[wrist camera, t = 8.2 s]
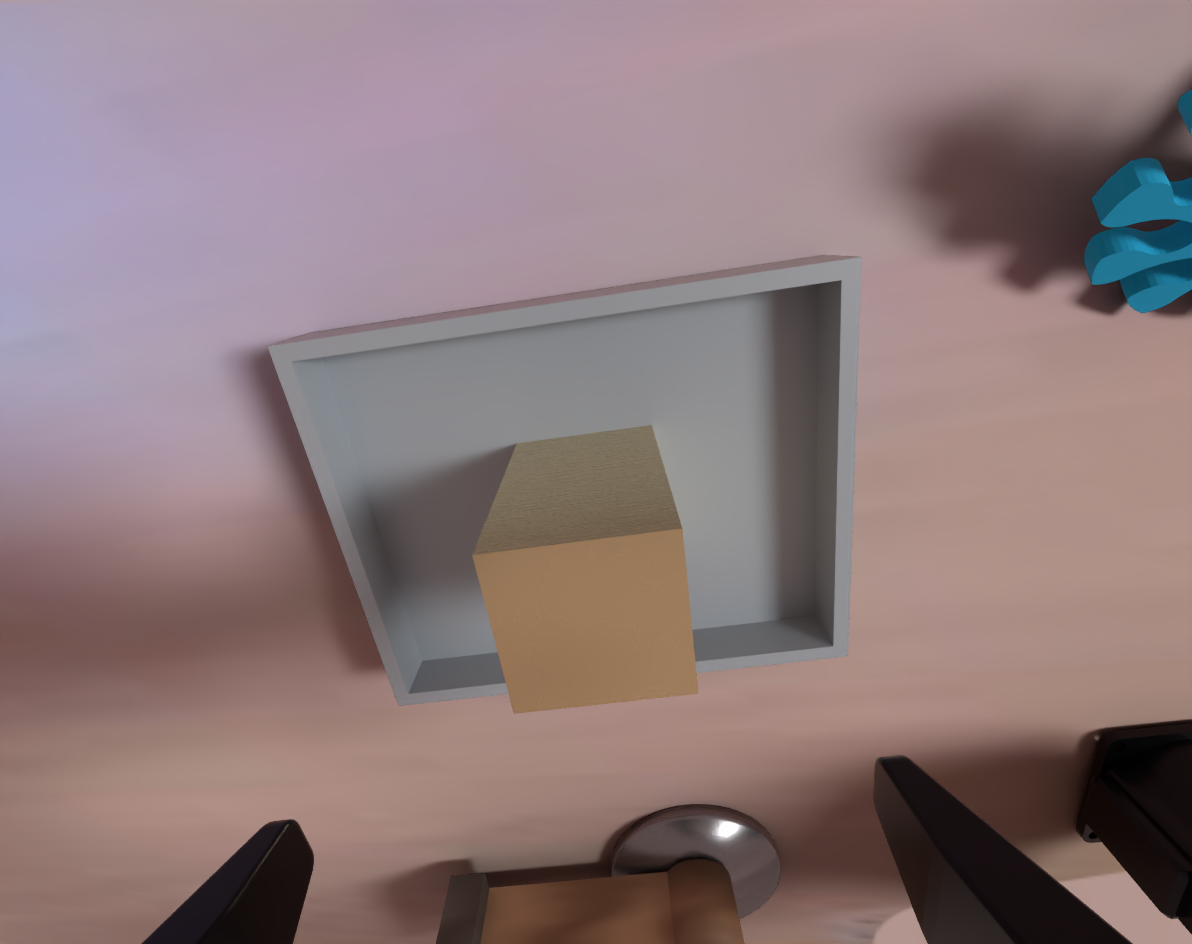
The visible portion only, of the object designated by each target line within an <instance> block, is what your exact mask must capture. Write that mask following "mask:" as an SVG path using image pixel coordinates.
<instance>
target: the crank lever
mask: <svg viewBox="0 0 1192 944" xmlns="http://www.w3.org/2000/svg"><path fill="white" fill-rule="evenodd" d="M436 944H744V939H743V934H742V929H741V925H740V920H739V915H738V910H737V906H736V901H735V896H734V891H733V887H732V882H731V877H730V874H729V872H728V870H727V869H726V868H725V867H724V866H722V865H721V864H719V863H717V862H714V861H710V860H704V859H693V860H688V861H684V862H681V863H678V864H676V865H675V866H673V867H672V868H670V869H669V870H668V871H667V872H659V873H648V874H637V875H626V876H615V877H604V878H593V879H582V880H571V881H560V882H549V883H538V884H527V885H516V886H505V887H494V888H490V887H489V885H488V882H487V879H486V876H485V873H480V874H469V875H458V876H451V880H450V884H449V888H448V893H447V897H446V901H445V906H444V910H443V915H442V919H441V923H440V928H439V932H438V936H437V941H436Z"/></svg>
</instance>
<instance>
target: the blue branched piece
mask: <svg viewBox="0 0 1192 944" xmlns="http://www.w3.org/2000/svg"><path fill="white" fill-rule="evenodd" d="M1178 110H1179V112H1180V114H1181V116H1182V118H1183V120H1184V122H1185V124H1186V126H1187V128H1188V130H1189V132H1190V134H1191V136H1192V89H1191V90H1189V91H1188V92H1186V93H1185V94H1184V95H1182V96H1181V97H1180V98H1179V101H1178ZM1092 202H1093V204H1094V207H1095V209H1096V212H1097V215H1098V217H1099V220H1100V223H1101V224H1102V225H1104V226H1107V227H1118V228H1112V229H1109V230H1106V231H1103V232H1100V233H1098V234H1096V235H1094V236H1093V237H1092V238H1091V240H1090V241H1089V242H1088V245H1087V247H1086V249H1085V254H1084V264H1085V266H1086V269H1087V272H1088V275H1089V278H1090V281H1091V284H1093V285H1099V284H1106V283H1110V282H1114V281H1117V280H1120V283H1121V286H1122V289H1123V291H1124V294H1125V297H1126V299H1127V302H1128V304H1129V305H1130V307H1132V308H1133V309H1134V310H1136V311H1138V312H1140V313H1145V312H1149V311H1152V310H1156V309H1158V308H1161V307H1163V306H1165V305H1167V304H1169V303H1171V302H1172V301H1174V300H1175V299H1177V298H1178V297H1180V296H1181V295H1183V294H1185V293H1187V292H1188V291H1190V290H1192V177H1191V178H1188V179H1185V180H1181V181H1168V178H1167V176H1166V174H1165V172H1164V170H1163V167H1162V165H1161V163H1160V162H1159V161H1158V160H1157V159H1153V158H1141V159H1136V160H1132V161H1130V162H1129V163H1127V164H1126V165H1124V166H1123V167H1122V168H1120V169H1119V170H1118V171H1117V172H1116V173H1115V174H1114V175H1112V176H1111V177H1110V178H1109V179H1108V180H1107V181H1106V183H1105V184H1104V185H1103V186H1102V187H1101V188H1100V189H1099V190H1098V192H1097V193H1096V194H1095V195H1094V196H1093V198H1092ZM1160 219H1177V220H1179V221H1178V222H1176V223H1174V224H1172V225H1171V226H1168V227H1166V228H1163V229H1160V230H1157V231H1151V232H1144V231H1140V230H1137V229H1133V228H1129V227H1123V226H1127V225H1131V224H1135V223H1139V222H1145V221H1150V220H1160Z"/></svg>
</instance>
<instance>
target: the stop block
mask: <svg viewBox="0 0 1192 944" xmlns="http://www.w3.org/2000/svg"><path fill="white" fill-rule="evenodd" d="M472 557H473V560H474V564H475V568H476V572H477V576H478V579H479V583H480V587H481V591H482V594H483V598H484V602H485V606H486V610H487V613H488V617H489V621H490V625H491V629H492V632H493V636H494V640H495V644H496V648H497V651H498V655H499V659H500V663H501V666H502V670H503V674H504V678H505V682H506V685H507V689H508V693H509V697H510V701H511V704H512V708H513V712H514V714H515V713H524V712H533V711H542V710H551V709H561V708H570V707H579V706H588V705H597V704H607V703H616V702H625V701H634V700H643V699H653V698H662V697H671V696H680V695H689V694H698V684H697V673H696V663H695V653H694V642H693V632H692V621H691V611H690V601H689V590H688V580H687V570H686V559H685V549H684V538H683V528H682V525H681V522H680V518H679V515H678V512H677V508H676V505H675V502H674V498H673V495H672V491H671V488H670V485H669V481H668V478H667V475H666V471H665V468H664V465H663V461H662V458H661V455H660V451H659V448H658V444H657V441H656V438H655V434H654V431H653V428H652V425H647V426H640V427H633V428H625V429H618V430H611V431H603V432H596V433H589V434H581V435H574V436H567V437H560V438H552V439H545V440H538V441H530V442H523V443H517V444H516V447H515V449H514V452H513V454H512V457H511V459H510V462H509V464H508V467H507V469H506V472H505V474H504V477H503V479H502V482H501V484H500V487H499V489H498V492H497V494H496V497H495V499H494V502H493V504H492V507H491V509H490V512H489V514H488V517H487V519H486V522H485V524H484V527H483V529H482V532H481V534H480V537H479V539H478V542H477V544H476V547H475V549H474V552H473V554H472Z"/></svg>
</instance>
